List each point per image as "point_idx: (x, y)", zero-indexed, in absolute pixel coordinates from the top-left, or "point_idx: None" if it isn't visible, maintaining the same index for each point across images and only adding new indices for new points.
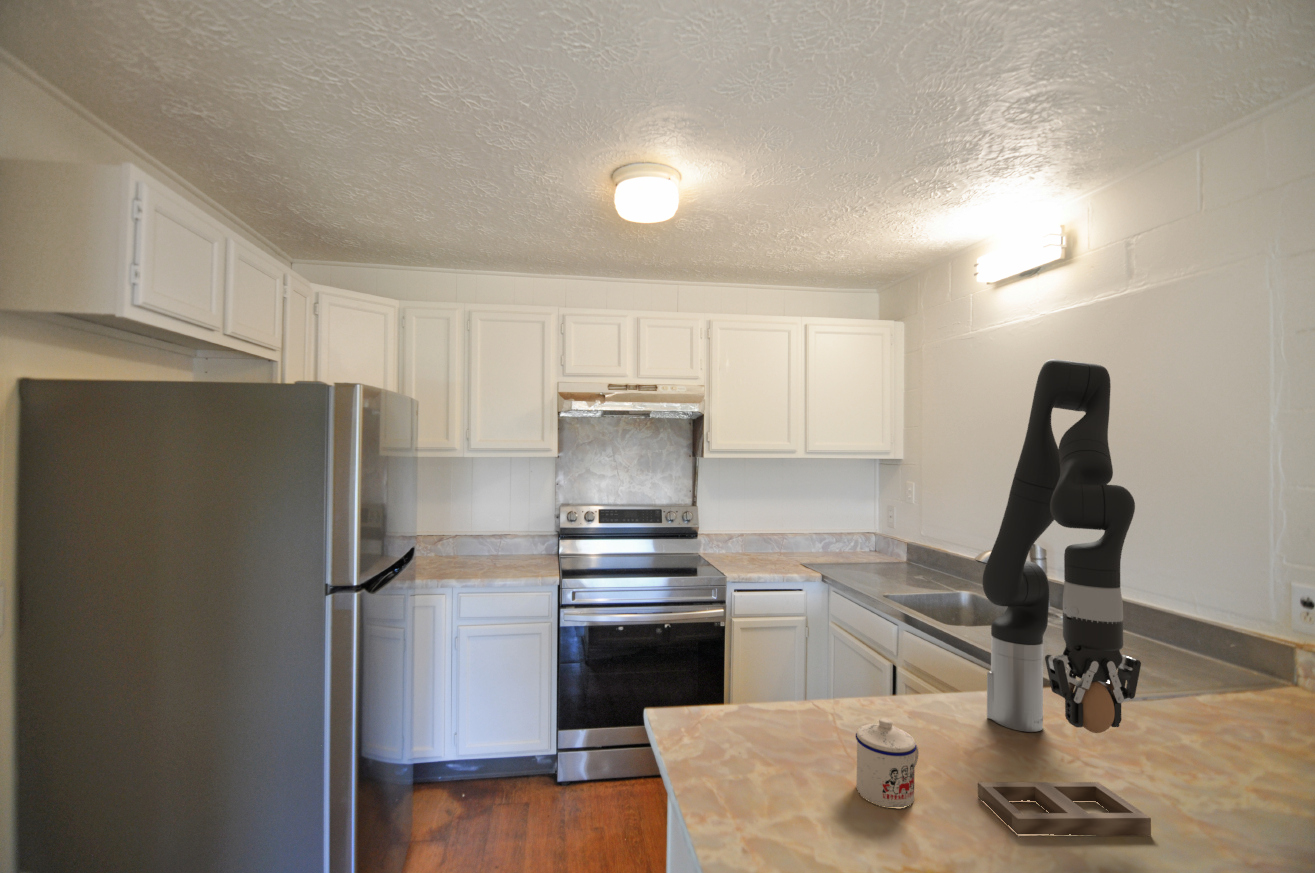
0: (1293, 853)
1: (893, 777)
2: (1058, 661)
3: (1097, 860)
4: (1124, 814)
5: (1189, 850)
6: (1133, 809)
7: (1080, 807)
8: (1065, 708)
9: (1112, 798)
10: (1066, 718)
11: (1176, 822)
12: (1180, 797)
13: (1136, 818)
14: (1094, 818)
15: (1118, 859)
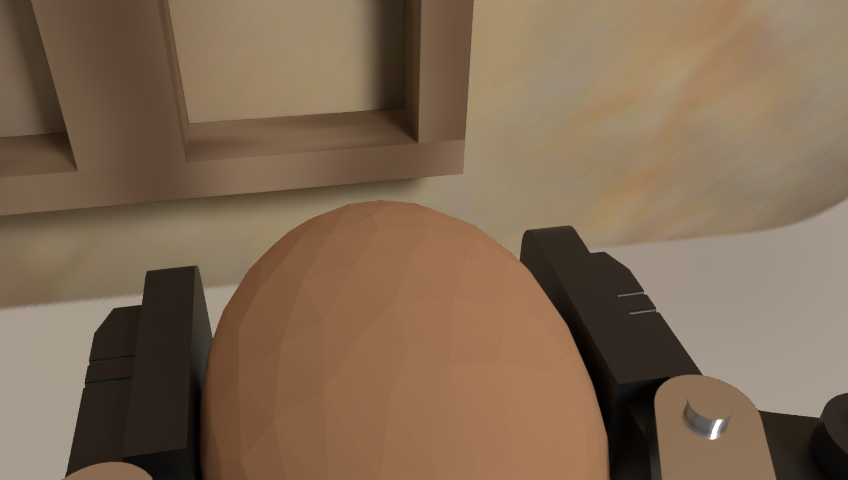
0: (833, 190)
1: None
2: None
3: (105, 290)
4: (361, 159)
5: (507, 207)
6: (442, 116)
7: (177, 120)
8: (85, 393)
9: (421, 23)
10: (110, 316)
11: (642, 42)
12: None
13: (395, 179)
14: (191, 196)
15: None
